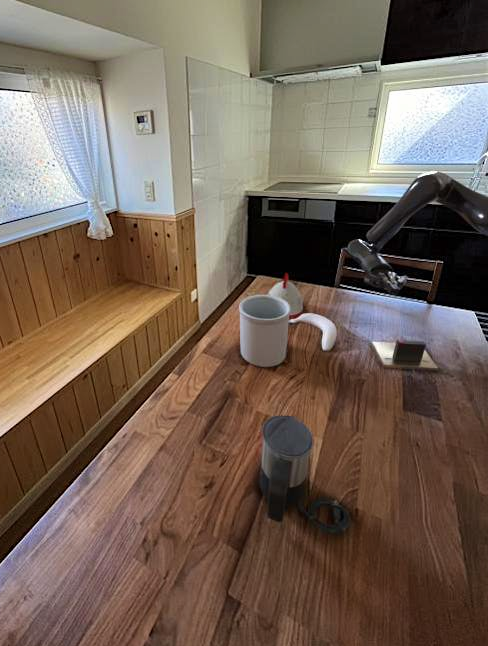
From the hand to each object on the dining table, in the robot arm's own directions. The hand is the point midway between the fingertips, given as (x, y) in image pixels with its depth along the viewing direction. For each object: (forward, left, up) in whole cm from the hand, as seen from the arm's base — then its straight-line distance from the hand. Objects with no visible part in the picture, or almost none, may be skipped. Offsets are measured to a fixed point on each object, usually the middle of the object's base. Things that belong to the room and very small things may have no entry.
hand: (395, 292), depth 100 cm
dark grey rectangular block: (-2, +10, -17) cm, 20 cm away
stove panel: (-2, +9, -19) cm, 21 cm away
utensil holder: (+39, +10, -19) cm, 44 cm away
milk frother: (+33, +54, -19) cm, 65 cm away
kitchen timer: (+30, -18, -19) cm, 40 cm away
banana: (+22, -2, -19) cm, 29 cm away
